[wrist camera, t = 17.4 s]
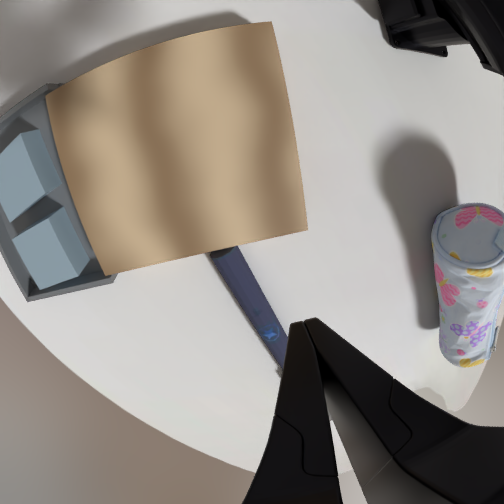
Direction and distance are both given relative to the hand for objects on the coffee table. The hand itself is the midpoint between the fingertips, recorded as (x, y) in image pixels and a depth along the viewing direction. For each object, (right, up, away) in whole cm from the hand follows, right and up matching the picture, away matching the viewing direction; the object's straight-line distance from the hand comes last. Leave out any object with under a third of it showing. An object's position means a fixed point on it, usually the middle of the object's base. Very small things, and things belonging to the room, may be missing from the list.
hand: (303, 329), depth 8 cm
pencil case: (+22, 0, +18) cm, 28 cm away
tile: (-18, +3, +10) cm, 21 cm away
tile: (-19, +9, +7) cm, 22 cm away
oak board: (-7, +9, +9) cm, 15 cm away
